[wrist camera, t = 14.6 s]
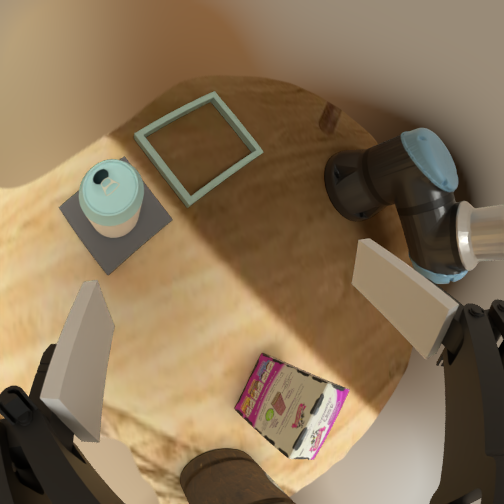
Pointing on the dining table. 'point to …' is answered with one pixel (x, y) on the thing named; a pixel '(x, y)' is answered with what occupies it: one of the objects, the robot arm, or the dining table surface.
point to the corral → (211, 97)
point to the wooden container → (229, 480)
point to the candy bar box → (290, 407)
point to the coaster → (120, 248)
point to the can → (112, 197)
